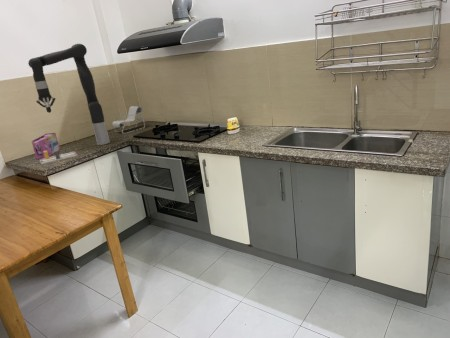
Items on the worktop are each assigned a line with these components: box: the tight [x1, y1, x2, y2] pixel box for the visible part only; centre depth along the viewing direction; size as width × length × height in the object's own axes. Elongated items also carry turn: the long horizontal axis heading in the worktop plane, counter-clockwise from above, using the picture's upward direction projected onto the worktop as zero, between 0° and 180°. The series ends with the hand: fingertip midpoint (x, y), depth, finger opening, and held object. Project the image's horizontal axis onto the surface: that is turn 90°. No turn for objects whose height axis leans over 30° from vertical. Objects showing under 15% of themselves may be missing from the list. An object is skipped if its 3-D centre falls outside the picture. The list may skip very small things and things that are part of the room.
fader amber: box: [43, 150, 50, 159], centre depth 250 cm, size 2×4×5 cm
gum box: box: [31, 132, 61, 160], centre depth 265 cm, size 24×8×14 cm, turn 179°
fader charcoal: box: [53, 150, 60, 159], centre depth 248 cm, size 2×4×5 cm
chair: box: [111, 105, 146, 135], centre depth 313 cm, size 13×25×20 cm, turn 135°
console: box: [39, 150, 78, 165], centre depth 252 cm, size 24×12×2 cm, turn 121°
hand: (49, 112), depth 251 cm, fingers closed
